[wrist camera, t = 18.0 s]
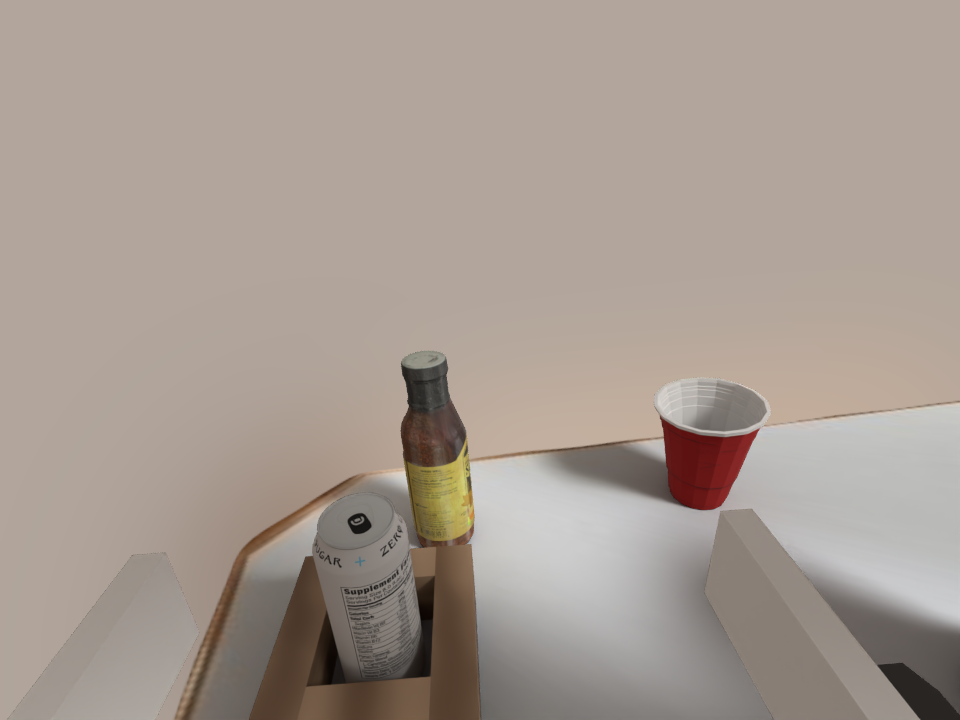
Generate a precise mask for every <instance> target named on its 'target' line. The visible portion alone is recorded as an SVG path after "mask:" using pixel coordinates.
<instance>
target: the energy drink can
mask: <svg viewBox="0 0 960 720" xmlns="http://www.w3.org/2000/svg"><path fill="white" fill-rule="evenodd" d="M317 531H318V532H317V535H316V537H315V540H314V543H313V548H312V554H313V558H314V562H315V565H316V569H317V573H318V577H319V581H320V585H321V589H322V592H323V596H324V600H325V604H326V608H327V612H328V615H329V619H330V623H331V627H332V631H333V635H334V639H335V642H336V646H337V650H338V654H339V658H340V662H341V666H342V669H343V673H344V677H345V681H346V683H358V682H370V681H383V680H395V679H407V678H419V677H420V676H421V674H422V671H423V669H424V664H425V648H424V641H423V634H422V627H421V620H420V614H419V607H418V600H417V593H416V586H415V579H414V573H413V566H412V559H411V552H410V545H409V539H408V532H407V526H406V523H405V521H404V519H403V518H402V517H401V516H400V515H399V514H398V513H397V512H396V511H395V509H394V506H393V504H392V502H391V501H390V500H389V499H387V498H386V497H384V496H382V495H379V494H376V493H357V494H352V495H349V496H346V497H343V498H341V499H339V500H337V501H336V502H334V503H332V504H331V505H330V506H329V507H328V508H326V509H325V511H324V512H323V513H322V514H321V516H320V518H319V520H318V524H317Z"/></svg>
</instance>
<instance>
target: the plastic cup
mask: <svg viewBox="0 0 960 720" xmlns="http://www.w3.org/2000/svg"><path fill="white" fill-rule="evenodd" d="M654 407H655V409H656V410H657V412H658V413H659V414H660V419H661V421H662V427H663V432H664V443H665V454H666V465H667V468H668V483H669V487H670V492H671V493H672V495H673V497H674V498H675V499H676V500H678V501H679V502H680V503H682V504H684V505H686V506H688V507H691V508H695V509H700V510H711V509H715V508H717V507H719V506H721V505H722V503H723V502H724V501H725V499H726V498H727V496H728V494H729V492H730V489H731V487H732V485H733V483H734V481H735V480H736V478H737V476H738V474H739V471H740V469H741V467H742V465H743V462H744V460H745V458H746V455H747V453H748V451H749V449H750V446H751V444H752V442H753V440H754V439H755V437H756V435H757V432H758V431H759V429H760V428H761V427H763V425H764V424H765V422H766V421H767V419H768V417H769V416H770V414H771V411H770V407H769V404H768V401H767V400H766V399H765V398H763V397H762V396H761V395H760V394H759V393H758V392H757V391H755V390H752V389H750V388H748V387H746V386H744V385H742V384H739V383H736V382H731V381H727V380H722V379H718V378H690V379H683V380H677V381H675V382H672V383H669V384H667V385H664V386H663V387H662V388H661V389H660V390H659V391H658V392H657V393H656V394H655V398H654Z"/></svg>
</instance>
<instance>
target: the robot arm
mask: <svg viewBox="0 0 960 720" xmlns="http://www.w3.org/2000/svg"><path fill="white" fill-rule="evenodd" d="M704 593H705V595H706V597H707V598H708V600H709V602H710V604H711V606H712V608H713V609H714V611H715V613H716V615H717V617H718V619H719V620H720V622H721V624H722V626H723V628H724V629H725V631H726V633H727V635H728V637H729V639H730V640H731V642H732V644H733V646H734V648H735V650H736V651H737V653H738V655H739V657H740V659H741V661H742V662H743V664H744V666H745V668H746V670H747V671H748V673H749V675H750V677H751V679H752V681H753V682H754V684H755V686H756V688H757V690H758V692H759V693H760V695H761V697H762V699H763V701H764V703H765V704H766V706H767V708H768V710H769V712H770V713H771V715H772V717H773V719H774V720H960V715H959V714H958V713H957V712H956V710H955V709H954V708H953V707H952V706H951V705H950V704H949V702H948V701H947V700H946V699H945V698H944V697H943V695H942V694H941V693H940V692H939V691H938V690H937V689H935V688H934V687H933V686H932V685H930V684H929V683H928V682H926V681H925V680H924V679H923V678H921V677H920V676H919V675H917V674H916V673H915V672H914V671H912V670H911V669H910V668H908V667H907V666H906V665H904V664H903V663H895V664H883V665H876V664H875V662H874V661H873V660H872V659H871V657H870V656H869V655H868V654H867V652H866V651H865V650H864V649H863V647H862V646H861V645H860V644H859V642H858V641H857V640H856V639H855V637H854V636H853V635H852V634H851V632H850V631H849V630H848V629H847V627H846V626H845V625H844V624H843V622H842V621H841V620H840V619H839V617H838V616H837V615H836V614H835V612H834V611H833V610H832V609H831V607H830V606H829V605H828V603H827V602H826V601H825V600H824V598H823V597H822V596H821V595H820V593H819V592H818V591H817V590H816V588H815V587H814V586H813V585H812V583H811V582H810V581H809V580H808V578H807V577H806V576H805V575H804V573H803V572H802V571H801V570H800V568H799V567H798V566H797V565H796V563H795V562H794V561H793V560H792V558H791V557H790V556H789V555H788V553H787V552H786V551H785V550H784V548H783V547H782V546H781V545H780V543H779V542H778V541H777V540H776V538H775V537H774V536H773V534H772V533H771V532H770V531H769V529H768V528H767V527H766V526H765V524H764V523H763V522H762V521H761V519H760V518H759V517H758V516H757V514H756V513H755V512H754V511H753V509H743V510H729V511H720V516H719V521H718V526H717V531H716V537H715V542H714V547H713V552H712V557H711V562H710V567H709V572H708V577H707V582H706V587H705V592H704ZM199 633H200V632H199V629H198V627H197V624H196V622H195V620H194V618H193V615H192V613H191V610H190V608H189V606H188V604H187V601H186V599H185V596H184V594H183V592H182V589H181V587H180V585H179V583H178V580H177V578H176V576H175V573H174V571H173V568H172V566H171V564H170V561H169V559H168V557H167V554H166V553H154V554H141V555H132V556H131V558H130V559H129V560H128V561H127V563H126V564H125V565H124V567H123V568H122V569H121V571H120V572H119V573H118V575H117V576H116V577H115V579H114V580H113V581H112V583H111V584H110V585H109V587H108V588H107V589H106V590H105V592H104V593H103V594H102V596H101V597H100V598H99V600H98V601H97V602H96V604H95V605H94V606H93V607H92V609H91V610H90V611H89V613H88V614H87V615H86V617H85V618H84V619H83V621H82V622H81V623H80V625H79V626H78V627H77V628H76V630H75V631H74V632H73V634H72V635H71V636H70V638H69V639H68V640H67V642H66V643H65V644H64V646H63V647H62V648H61V649H60V651H59V652H58V654H57V655H56V656H55V657H54V659H53V660H52V661H51V663H50V664H49V665H48V667H47V668H46V669H45V671H44V672H43V673H42V675H41V676H40V677H39V678H38V680H37V681H36V682H35V684H34V685H33V686H32V688H31V689H30V690H29V692H28V693H27V694H26V696H25V697H24V698H23V700H22V701H21V702H20V704H19V705H18V706H17V707H16V709H15V710H14V711H13V713H12V714H11V715H10V716H9V718H8V719H7V720H155V719H156V718H157V716H158V713H159V712H160V710H161V708H162V706H163V704H164V702H165V700H166V698H167V696H168V694H169V692H170V690H171V688H172V686H173V684H174V682H175V680H176V678H177V676H178V674H179V672H180V670H181V668H182V666H183V664H184V663H185V661H186V659H187V657H188V655H189V653H190V651H191V648H192V646H193V645H194V643H195V641H196V639H197V637H198V635H199Z"/></svg>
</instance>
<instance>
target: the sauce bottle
mask: <svg viewBox="0 0 960 720" xmlns="http://www.w3.org/2000/svg"><path fill="white" fill-rule="evenodd" d="M401 367H402V375H403V377H404V379H405V381H406V387H407V393H408V400H407V402H408V404H409V408H408V411H407V413H406V415H405V417H404V419H403V421H402V425H401V438H402V444H403V450H404V451H403V458H404V464H405V471H406V477H407V483H408V489H409V496H410V502H411V508H412V514H413V520H414V526H415V530H416V532H417V535H418V538H419V541H420V543H421V544H422V545H423V546H424V547H425V548H427V547H440V546H454V545H465V544H467V543H468V542H469V540H470V539H471V537H472V535H473V531H474V518H475V517H474V506H473V496H472V486H471V476H470V465H469V456H468V445H467V436H466V430H465V427H464V425H463V423H462V421H461V419H460V417H459V415H458V413H457V411H456V409H455V407H454V405H453V403H452V401H451V399H450V395H449V393H448V386H447V385H448V383H447V377H446V374H447V371H448V366H447V360H446V357H445V355H444V354H443V353H440V352H435V351H421V352H415V353H413V354H410V355H408V356H406V357H405V358H404V359H403V360H402V362H401Z"/></svg>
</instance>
